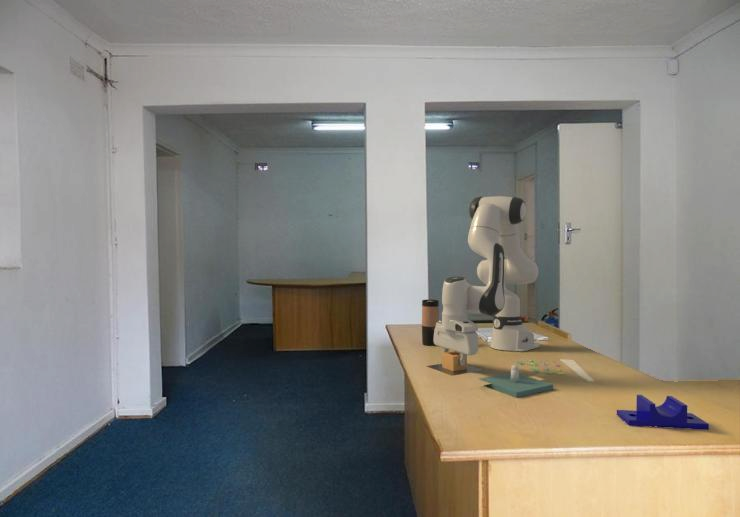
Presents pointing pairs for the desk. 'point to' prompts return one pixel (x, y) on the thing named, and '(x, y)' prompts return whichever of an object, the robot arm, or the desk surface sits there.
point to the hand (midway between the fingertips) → (454, 362)
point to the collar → (452, 361)
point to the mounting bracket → (662, 415)
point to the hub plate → (516, 383)
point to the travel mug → (429, 321)
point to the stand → (449, 372)
